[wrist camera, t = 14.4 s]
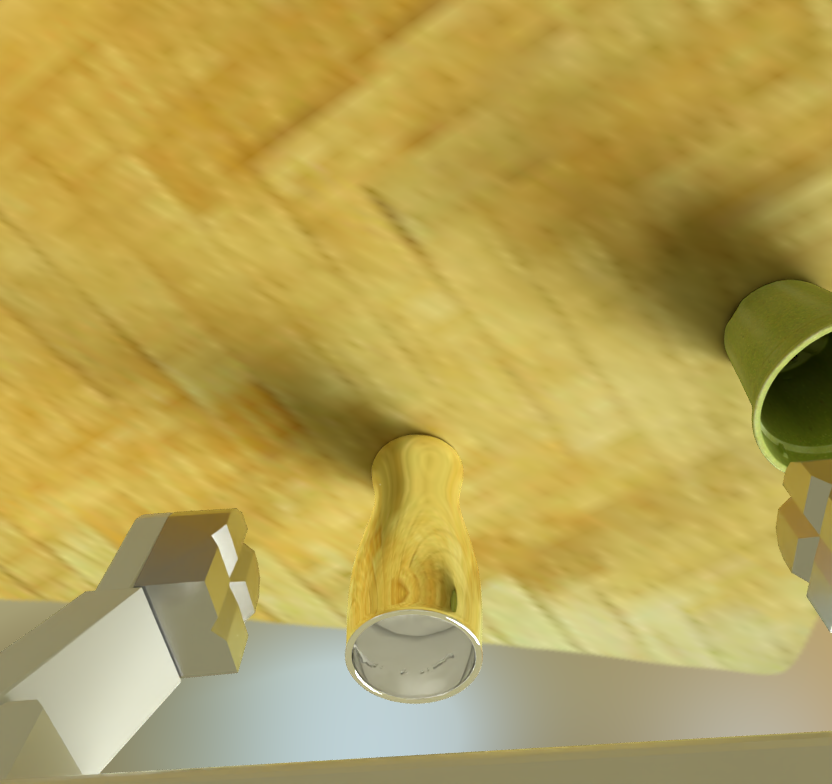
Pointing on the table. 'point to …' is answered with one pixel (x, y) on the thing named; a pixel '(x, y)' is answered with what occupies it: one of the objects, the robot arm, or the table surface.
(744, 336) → the plant pot
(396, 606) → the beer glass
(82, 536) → the table surface
